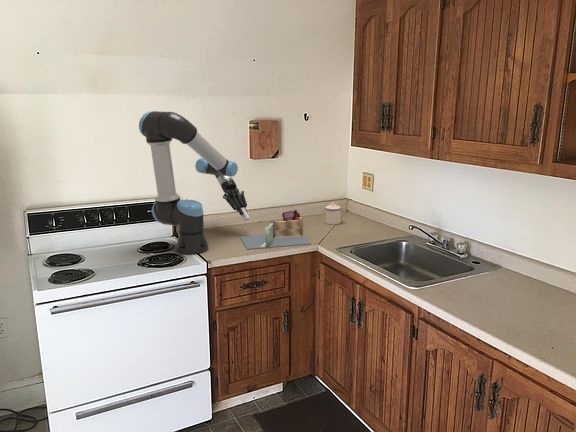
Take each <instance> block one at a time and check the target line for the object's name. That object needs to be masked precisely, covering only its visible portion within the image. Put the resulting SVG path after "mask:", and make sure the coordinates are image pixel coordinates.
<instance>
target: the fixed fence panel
mask: <svg viewBox="0 0 576 432" xmlns="http://www.w3.org/2000/svg"><path fill="white" fill-rule="evenodd" d="M270 223H273V238H275V233H276V237H288V236H302V235H304V217H303V216H301V217H299V220H292V221H283V220H282V221H276V220H270V222H269V224H270Z"/></svg>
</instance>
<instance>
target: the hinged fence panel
mask: <svg viewBox="0 0 576 432" xmlns="http://www.w3.org/2000/svg"><path fill="white" fill-rule="evenodd" d="M264 234H265V246H269V243H270V241H271V240H272V238H273V223H270V222H269V225H268V226H265V227H264Z"/></svg>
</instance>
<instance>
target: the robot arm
mask: <svg viewBox="0 0 576 432" xmlns="http://www.w3.org/2000/svg"><path fill="white" fill-rule="evenodd" d="M138 130H139V133H140V134H142V136H144V137H145V141H146V143H147V145H149V146H150V151H151V152H150V153H151V158H152V166H153V173H154V180H155V185H156V194H157V195H156V197H155V199H154V202H153V205H152V206H151V215H152V217H153V218H154V220H155V221H156V222H158V223H159V224H162V225H165V226H166V225H167V226H172V227H174V226H175V227H178V238H177V241H176V244H175V250H176V253H178V254H181V255H196V254H197V255H198V254H202V253H205V252H207V251H209V242H208V240H207V238H206V235H205V230H204V229H205V226H204V224H205V223H204V208H203V204H202V203H201V202H200V201H197V200H194V199H189V198H188V199H181V196H180V195H179V194H178V193H177V192H176V189H177V188H176V183H175V175H174V168H173V162H172V154H171V145H170V144H171V143H172V141H173V140H177V141H179V142H180V143H181V144H183V145H187V146H188V147H189V148H190V149H192V151H194V152H195V153H196V154H197V155H199V156H200V158H198V159H197V160H196V162H195V167H194V168H195V170H196V172H198V173H200V174H205V175H206V174H207V175H211V176H215V178H216V180H217V182H218V184H219V186H220V188H221V190H222V191H223V192H224V194H223V195H222V198H223V199H224V200H225V201H226V202H227V203H228V205H229V206H230V208H232V210H234V211H236V212H237V213H238V214H239V215H240V216H241V217H242V218H243V219H242V220H244V222H248V221H249V220H250V219H251V218H250V216H249V214H248V213H249V212H248V210H247V209H246V208H247V206H248V202H247V199H246V197H245V191H244V190H240V189H239V188H238V186H237V183H236V182H235V181H234V179H233V177H235V176H236V175H237V172H238V171H239V169H238V168H239V167H238V164H237V163H236V161H231V160H228V159H227V158H226V157H225V156H223V155H222V153H221V152H220V151H218V150H217V149H216V148H215V147H214V146H213V145H212V144H211V143H210V142H209V141H208V140H206V138H204V137H203V136H202V134H200V132H198V128H197V127H196V126H195V125H194V124H193V123H192V122H191V121H189V120H188V119H187V118H185V117H184V116H182V115H181V114H179V113H177V112H174V111H156V110H155V111H154V110H152V111H147V112H145V113H143V114H142V116H141V117H140V119H139V122H138Z"/></svg>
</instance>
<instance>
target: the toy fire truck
mask: <svg viewBox="0 0 576 432" xmlns="http://www.w3.org/2000/svg"><path fill="white" fill-rule="evenodd" d="M281 214H282V215H281V216H282V221H292V220H299V217H302V216H301V214H300V213H299V212H298V210H297V209H294V210H289V211H283V212H282V213H281Z"/></svg>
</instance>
